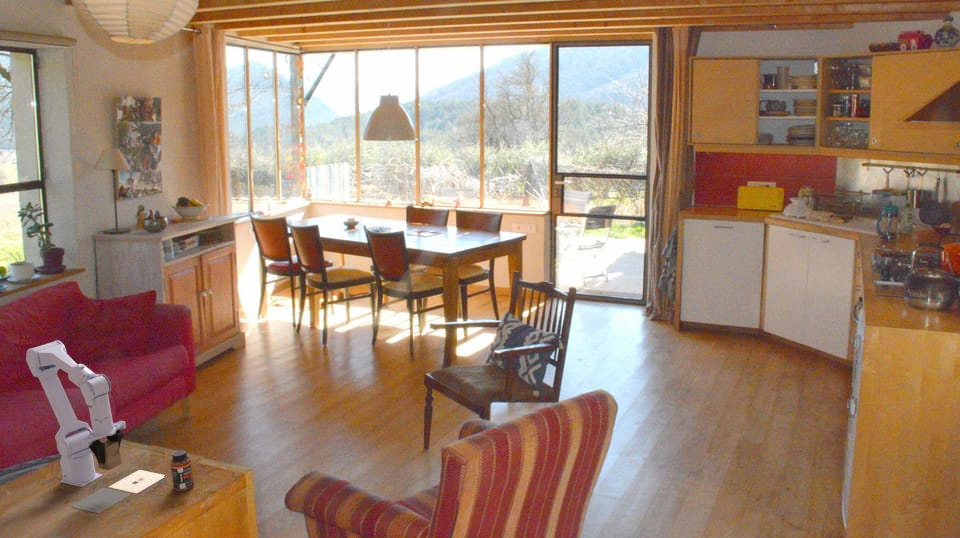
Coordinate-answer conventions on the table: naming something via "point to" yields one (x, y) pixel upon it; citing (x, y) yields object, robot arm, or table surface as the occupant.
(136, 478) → the cream mat
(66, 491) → the table surface
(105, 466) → the walnut block
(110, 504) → the grey mat
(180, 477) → the supplement bottle
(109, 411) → the robot arm
